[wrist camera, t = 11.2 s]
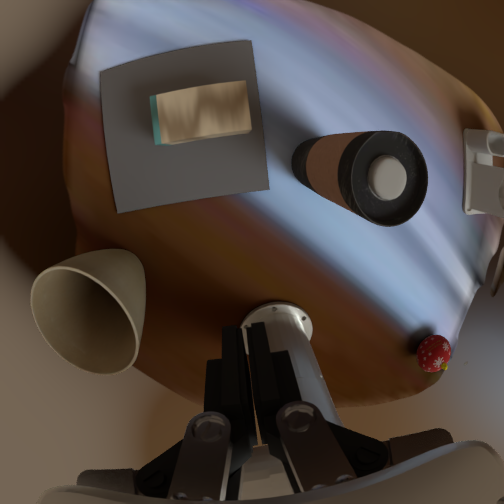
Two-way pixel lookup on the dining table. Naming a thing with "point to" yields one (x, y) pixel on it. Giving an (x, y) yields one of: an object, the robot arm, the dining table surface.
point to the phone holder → (483, 172)
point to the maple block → (200, 113)
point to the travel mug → (365, 173)
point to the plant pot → (92, 309)
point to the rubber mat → (183, 154)
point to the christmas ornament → (433, 353)
